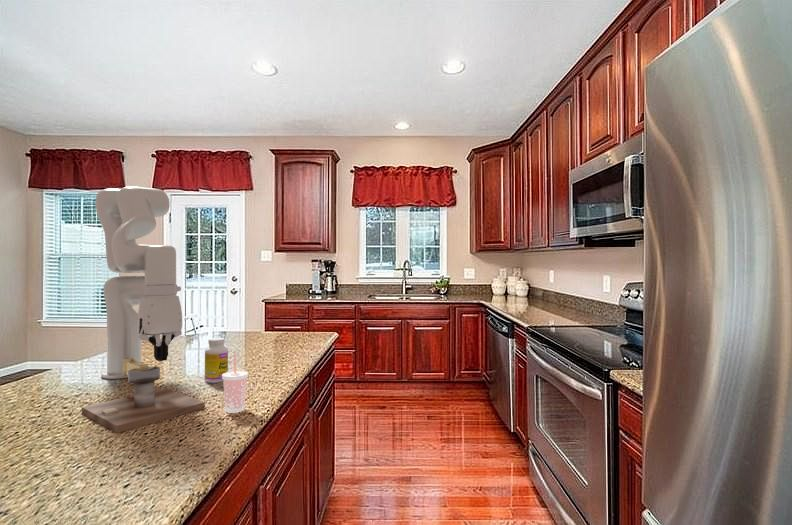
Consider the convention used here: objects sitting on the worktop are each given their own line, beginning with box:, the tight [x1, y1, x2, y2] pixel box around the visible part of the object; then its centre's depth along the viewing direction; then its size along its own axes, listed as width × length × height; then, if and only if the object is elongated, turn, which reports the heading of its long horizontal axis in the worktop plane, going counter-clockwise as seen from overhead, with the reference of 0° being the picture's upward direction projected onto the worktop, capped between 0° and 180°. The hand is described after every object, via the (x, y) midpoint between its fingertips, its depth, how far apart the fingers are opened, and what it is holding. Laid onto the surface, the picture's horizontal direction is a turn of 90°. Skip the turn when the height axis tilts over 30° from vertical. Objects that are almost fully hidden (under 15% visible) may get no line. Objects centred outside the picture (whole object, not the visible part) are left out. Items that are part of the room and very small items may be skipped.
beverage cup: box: [222, 353, 249, 414], centre depth 111 cm, size 6×6×14 cm
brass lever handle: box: [123, 358, 161, 384], centre depth 112 cm, size 13×7×4 cm, turn 53°
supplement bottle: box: [204, 337, 229, 384], centre depth 137 cm, size 7×7×13 cm
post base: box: [81, 381, 206, 434], centre depth 110 cm, size 20×20×7 cm
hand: (161, 360), depth 119 cm, fingers closed
